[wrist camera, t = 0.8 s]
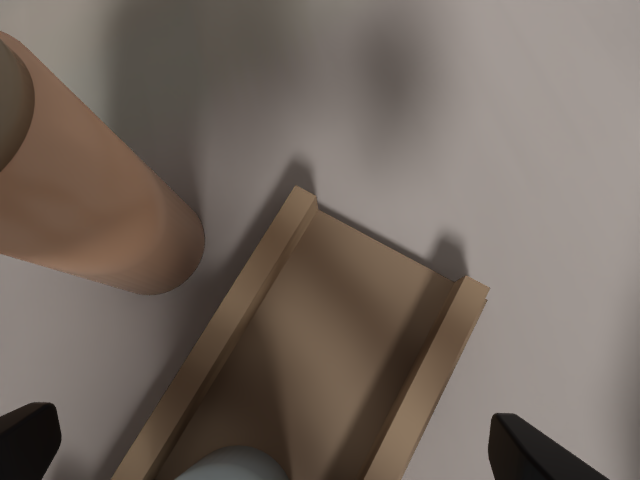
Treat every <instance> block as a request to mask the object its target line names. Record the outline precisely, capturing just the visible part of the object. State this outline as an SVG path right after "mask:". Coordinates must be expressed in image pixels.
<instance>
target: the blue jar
mask: <svg viewBox="0 0 640 480" xmlns="http://www.w3.org/2000/svg"><path fill="white" fill-rule="evenodd" d="M174 480H289V478H288V476H287V475H286V473H285V471H284V470H283V469H282V467H281V466H280V465H279V464H278V463H277V462H276V461H275V460H274V459H273V458H272V457H270V456H269V455H268V454H266V453H264V452H263V451H261V450H258V449H256V448H253V447H249V446H241V445H235V446H227V447H223V448H220V449H217V450H215V451H213V452H211V453H209V454H207V455H206V456H204V457H203V458H202V459H200V460H199V461H198V462H196V463H195V464H194V465H193V466H191V467H190V468H189V469H187V470H186V471H185V472H183V473H182V474H181V475H180V476H178V477H177V478H176V479H174Z"/></svg>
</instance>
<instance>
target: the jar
mask: <svg viewBox="0 0 640 480" xmlns="http://www.w3.org/2000/svg"><path fill="white" fill-rule="evenodd" d="M204 245H205V236H204V230H203V226H202V223H201V221H200V219H199V217H198V216H197V214H196V213H195V212H194V211H193V210H192V209H191V208H190V207H189V206H188V205H187V204H186V203H185V202H184V201H183V200H182V199H181V198H180V197H179V196H178V195H177V194H176V193H175V192H174V191H173V190H172V189H171V188H170V187H169V186H168V185H167V184H166V183H165V182H164V181H163V180H162V179H161V178H160V177H159V176H158V175H157V174H156V173H155V172H153V171H152V170H151V169H150V168H149V167H148V166H147V165H146V164H145V163H144V162H143V161H142V160H141V159H140V158H139V157H138V156H137V155H136V154H135V153H134V152H133V151H132V150H131V149H130V148H129V147H128V146H127V145H126V144H125V143H124V142H123V141H122V140H121V139H120V138H119V137H118V136H117V135H116V134H115V133H114V132H113V131H112V130H110V129H109V128H108V127H107V126H106V125H105V124H104V123H103V122H102V121H101V120H100V119H99V118H98V117H97V116H96V115H95V114H94V113H93V112H92V111H91V110H90V109H89V108H88V107H87V106H86V105H85V104H84V103H83V102H82V101H81V100H80V99H79V98H78V97H77V96H76V95H75V94H74V93H73V92H72V91H71V90H70V89H69V88H68V87H66V86H65V85H64V84H63V83H62V82H61V81H60V80H59V79H58V78H57V77H56V76H55V75H54V74H53V73H52V72H51V71H50V70H49V69H48V68H47V67H46V66H45V65H44V64H43V63H42V62H41V61H40V60H39V59H38V58H37V57H36V56H35V55H34V54H33V53H32V52H31V51H30V50H29V49H28V48H26V47H25V46H24V45H23V44H22V43H21V42H20V41H18V40H17V39H15V38H14V37H12V36H10V35H8V34H6V33H4V32H2V31H0V254H3V255H6V256H10V257H13V258H17V259H20V260H24V261H27V262H30V263H34V264H37V265H41V266H44V267H47V268H51V269H54V270H58V271H61V272H65V273H68V274H71V275H75V276H78V277H82V278H85V279H88V280H92V281H95V282H99V283H102V284H106V285H109V286H112V287H116V288H119V289H123V290H126V291H129V292H133V293H136V294H141V295H157V294H162V293H165V292H168V291H170V290H173V289H175V288H176V287H178V286H180V285H181V284H182V283H184V282H185V281H186V280H187V279H188V278H189V277H190V276H191V275H192V274H193V272H194V271H195V270H196V268H197V266H198V265H199V263H200V260H201V258H202V255H203V251H204Z"/></svg>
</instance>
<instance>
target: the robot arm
mask: <svg viewBox="0 0 640 480" xmlns="http://www.w3.org/2000/svg"><path fill="white" fill-rule="evenodd" d="M60 444H61V430H60V425H59V420H58V415H57V410H56V407H55V405H54V404H52V403H47V402H33V403H30V404H27V405H25V406H23V407H21V408H18V409H16V410H14V411H12V412H10V413H7V414H5V415H3V416H1V417H0V480H42V478H43V476H44V474H45V473H46V471H47V469H48V467H49V465H50V464H51V462H52V460H53V458H54V456H55V455H56V453H57V451H58V449H59V447H60ZM488 456H489V461H490V464H491V468H492V471H493V475H494V478H495V480H609V479H608V478H606V477H605V476H604V475H602V474H601V473H599V472H598V471H596V470H595V469H594V468H592V467H591V466H589V465H588V464H586V463H585V462H584V461H582V460H581V459H579V458H578V457H576V456H575V455H573V454H572V453H571V452H569V451H568V450H566V449H565V448H563V447H562V446H561V445H559V444H558V443H556V442H555V441H553V440H552V439H551V438H549V437H548V436H546V435H545V434H543V433H542V432H541V431H539V430H538V429H536V428H535V427H533V426H532V425H530V424H529V423H528V422H526V421H525V420H523V419H522V418H520V417H519V416H517V415H516V414H513V413H495V414H494V415H493V416H492V419H491V427H490V435H489V444H488Z"/></svg>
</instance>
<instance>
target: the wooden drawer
mask: <svg viewBox="0 0 640 480" xmlns="http://www.w3.org/2000/svg"><path fill="white" fill-rule="evenodd" d="M489 289H490V288H489V287H487V286H485V285H483V284H482V283H480V282H478V281H476V280H474V279H472V278H470V277H468V276H464V277H462V278H461V279H459V280H457V281H456V282H453V281H451V280H449V279H447V278H446V277H444V276H442V275H440V274H438V273H436V272H434V271H432V270H431V269H429V268H427V267H425V266H423V265H421V264H419V263H417V262H416V261H414V260H412V259H410V258H408V257H406V256H404V255H403V254H401V253H399V252H397V251H395V250H393V249H391V248H389V247H388V246H386V245H384V244H382V243H380V242H378V241H376V240H374V239H373V238H371V237H369V236H367V235H365V234H363V233H361V232H360V231H358V230H356V229H354V228H352V227H350V226H348V225H346V224H345V223H343V222H341V221H339V220H337V219H335V218H333V217H331V216H330V215H328V214H326V213H324V212H322V211H320V210H318V205H317V198H316V196H315V195H313V194H311V193H310V192H308V191H306V190H304V189H302V188H300V187H298V186H296V185H295V187H294V188H293V190H292V191H291V193H290V195H289V196H288V198H287V199H286V201H285V202H284V204H283V206H282V207H281V209H280V210H279V212H278V214H277V215H276V217H275V218H274V220H273V222H272V223H271V225H270V226H269V228H268V230H267V231H266V233H265V234H264V236H263V237H262V239H261V241H260V242H259V244H258V245H257V247H256V249H255V250H254V252H253V253H252V255H251V257H250V258H249V260H248V261H247V263H246V265H245V266H244V268H243V269H242V271H241V272H240V274H239V276H238V277H237V279H236V280H235V282H234V284H233V285H232V287H231V288H230V290H229V292H228V293H227V295H226V296H225V298H224V300H223V301H222V303H221V304H220V306H219V307H218V309H217V311H216V312H215V314H214V315H213V317H212V319H211V320H210V322H209V323H208V325H207V327H206V328H205V330H204V331H203V333H202V335H201V336H200V338H199V339H198V341H197V342H196V344H195V346H194V347H193V349H192V350H191V352H190V354H189V355H188V357H187V358H186V360H185V362H184V363H183V365H182V366H181V368H180V370H179V371H178V373H177V374H176V376H175V377H174V379H173V381H172V382H171V384H170V385H169V387H168V389H167V390H166V392H165V393H164V395H163V397H162V398H161V400H160V401H159V403H158V405H157V406H156V408H155V409H154V411H153V412H152V414H151V416H150V417H149V419H148V420H147V422H146V424H145V425H144V427H143V428H142V430H141V432H140V433H139V435H138V436H137V438H136V440H135V441H134V443H133V444H132V446H131V447H130V449H129V451H128V452H127V454H126V455H125V457H124V459H123V460H122V462H121V463H120V465H119V467H118V468H117V470H116V471H115V473H114V475H113V476H112V478H111V479H110V480H174V479H176V478H177V477H178V476H180V475H181V474H182V473H183V472H185V471H186V470H187V469H189V468H190V467H191V466H193V465H194V464H195V463H196V462H198V461H199V460H200V459H202V458H203V457H204V456H206V455H207V454H209V453H211V452H213V451H215V450H217V449H220V448H223V447H227V446H235V445H241V446H249V447H253V448H256V449H258V450H261V451H263V452H264V453H266V454H268V455H269V456H270V457H272V458H273V459H274V460H275V461H276V462H277V463H278V464H279V465H280V466H281V467H282V469H283V470H284V471H285V473H286V475H287V476H288V478H289V480H401V478H402V476H403V474H404V472H405V470H406V468H407V466H408V464H409V462H410V460H411V458H412V456H413V453H414V451H415V449H416V447H417V445H418V443H419V441H420V439H421V437H422V435H423V433H424V431H425V429H426V427H427V424H428V422H429V420H430V418H431V416H432V414H433V412H434V410H435V408H436V406H437V404H438V402H439V400H440V397H441V395H442V393H443V391H444V389H445V387H446V385H447V383H448V381H449V379H450V377H451V375H452V373H453V370H454V368H455V366H456V364H457V362H458V360H459V358H460V356H461V354H462V352H463V350H464V348H465V346H466V343H467V341H468V339H469V337H470V335H471V333H472V331H473V329H474V327H475V325H476V323H477V321H478V319H479V317H480V314H481V312H482V310H483V308H484V306H485V304H486V302H487V299H485V298H486V296H487V294H488V292H489Z"/></svg>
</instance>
